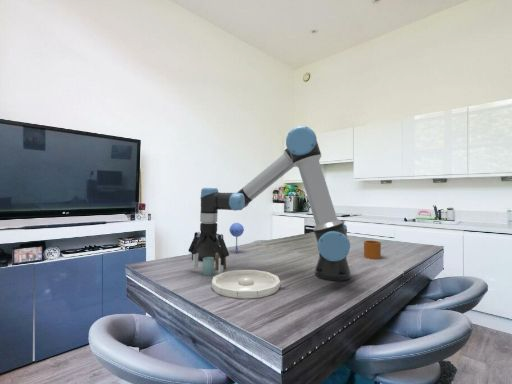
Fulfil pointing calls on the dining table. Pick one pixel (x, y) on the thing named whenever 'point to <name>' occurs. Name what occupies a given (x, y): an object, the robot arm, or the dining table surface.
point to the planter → (206, 250)
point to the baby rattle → (236, 232)
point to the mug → (372, 249)
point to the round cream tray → (245, 284)
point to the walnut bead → (218, 262)
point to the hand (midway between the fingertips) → (207, 270)
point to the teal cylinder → (208, 266)
